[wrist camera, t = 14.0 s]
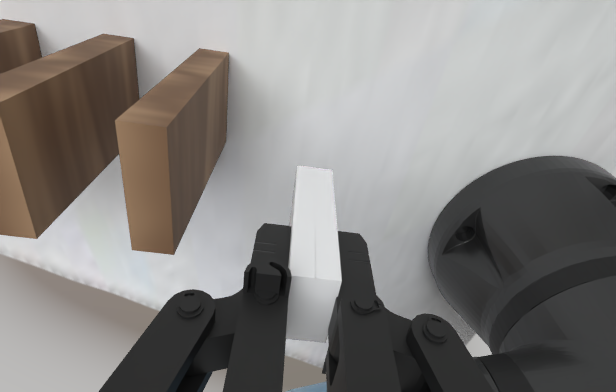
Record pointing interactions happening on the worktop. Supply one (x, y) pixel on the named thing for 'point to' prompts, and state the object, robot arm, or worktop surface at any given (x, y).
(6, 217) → the domino
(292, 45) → the worktop surface
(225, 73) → the loose domino
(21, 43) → the domino
